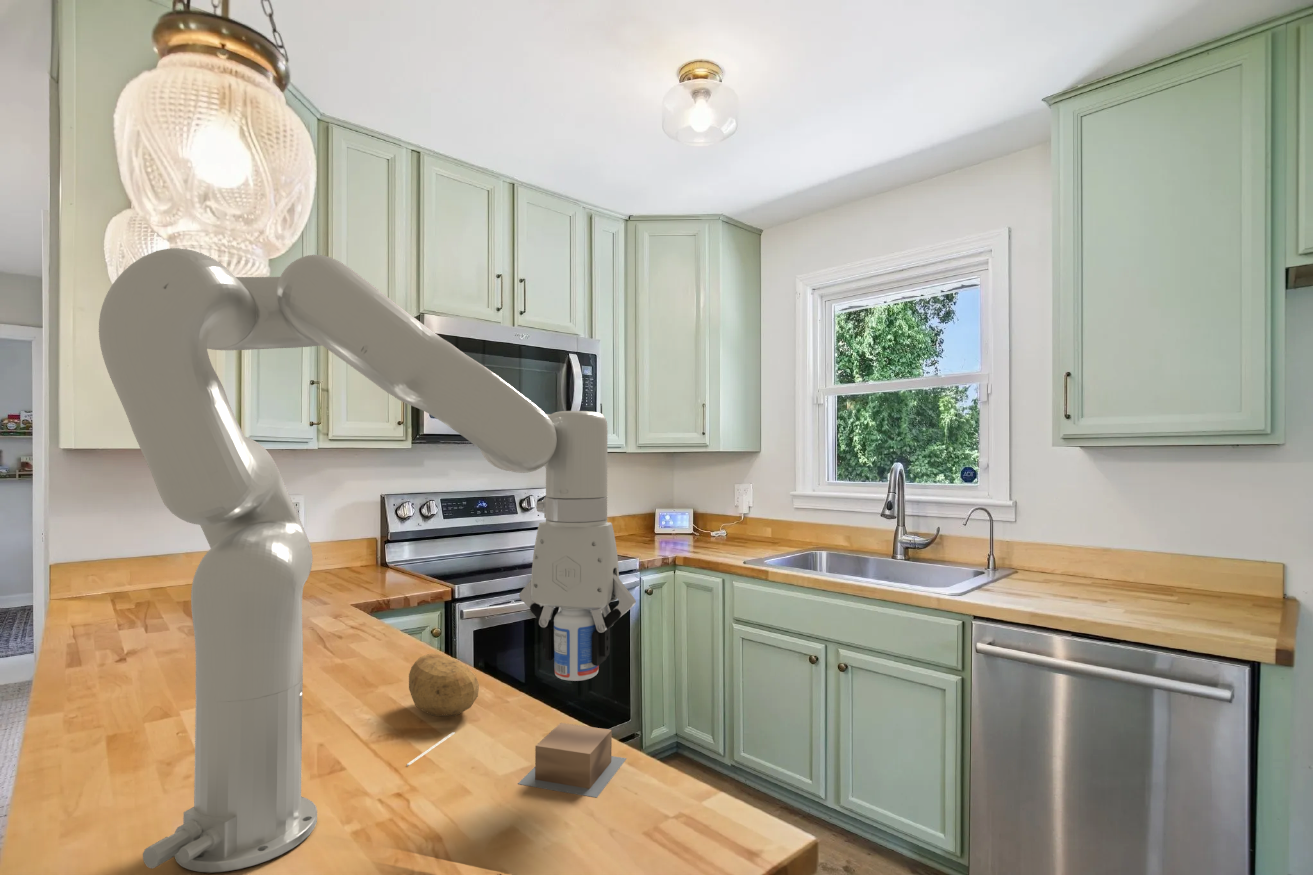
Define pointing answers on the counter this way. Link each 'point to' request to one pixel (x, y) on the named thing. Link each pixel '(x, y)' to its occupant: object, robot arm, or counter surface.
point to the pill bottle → (574, 644)
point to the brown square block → (573, 755)
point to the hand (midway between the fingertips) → (576, 658)
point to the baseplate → (592, 792)
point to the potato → (442, 685)
